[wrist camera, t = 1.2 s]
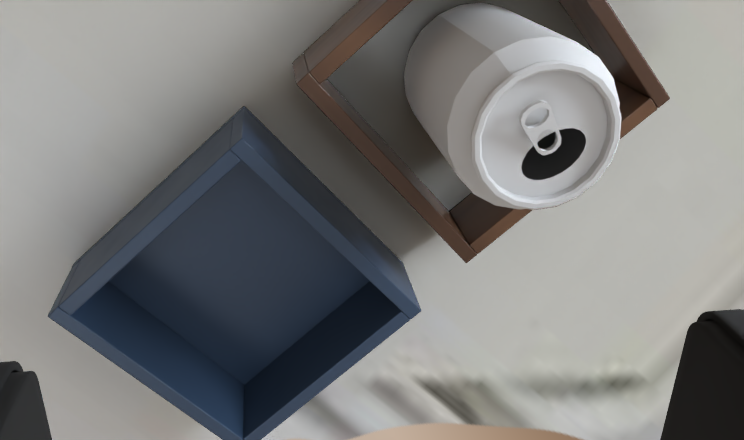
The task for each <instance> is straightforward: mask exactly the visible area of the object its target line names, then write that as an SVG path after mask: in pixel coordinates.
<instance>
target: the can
mask: <svg viewBox="0 0 744 440" xmlns="http://www.w3.org/2000/svg"><path fill="white" fill-rule="evenodd" d="M404 80H405V94H406V96H407V99H408V101H409V104H410V106H411V109H412V111H413V113H414V115H415V116H416V117H417V119H418V120H419V122H420V123H421V125H422V126H423V127H424V129H425V130H426V132H427V133H428V135H429V136H430V137H431V139H432V140H433V142H434V143H435V144H436V146H437V147H438V149H439V150H440V152H441V153H442V154H443V156H444V157H445V159H446V160H447V162H448V163H449V164H450V166H451V167H452V169H453V170H454V171H455V173H456V174H457V176H458V177H459V178H460V179H461V180H462V181H463V183H464V184H465V185H466V186H467V187H468V188H469V189H470V190H471V191H472V193H473V194H475V195H476V196H478V197H480V198H482V199H484V200H486V201H488V202H490V203H491V204H493V205H495V206H501V207H507V208H514V209H531V210H537V209H544V208H551V207H557V206H559V205H561V204H564V203H566V202H568V201H570V200H573V199H575V198H577V197H579V196H580V195H581V194H582V193H584V192H585V191H586V190H587V189H589V188H590V187H591V186H592V185H594V184H595V183H596V182H597V181H598V180H599V178H600V177H601V176H602V174H603V173H604V171H605V170H606V169H607V167H608V166H609V165H610V163H611V162H612V159H613V156H614V154H615V151H616V149H617V146H618V144H619V141H620V131H621V118H622V117H621V113H620V109H619V106H620V102H619V98H618V94H617V90H616V86H615V83H614V79H613V77H612V75H611V74H610V72H609V71H608V69H607V68H606V67H605V65H604V64H603V62H602V61H601V59H600V58H599V57H598V56H597V55H595V54H594V53H592V52H591V51H589V50H588V49H586V48H585V47H583V46H582V45H580V44H579V43H577V42H575V41H573V40H571V39H569V38H567V37H565V36H563V35H561V34H558V33H556V32H554V31H552V30H550V29H548V28H546V27H544V26H541V25H539V24H537V23H535V22H533V21H531V20H529V19H526V18H524V17H522V16H520V15H518V14H516V13H514V12H512V11H509V10H507V9H505V8H503V7H499V6H495V5H491V4H486V3H482V2H481V3H472V4H463V5H458V6H456V7H454V8H452V9H450V10H447V11H445V12H443V13H441V14H439V15H438V16H436V17H435V18H434V19H433V20H432V21H431V22H430V23H429V24H428V25H427V26H425V27H424V28H423V29H422V30H421V32H420V33H419V35H418V37H417V38H416V40H415V42H414V43H413V45H412V47H411V48H410V50H409V54H408V58H407V62H406V66H405V70H404Z"/></svg>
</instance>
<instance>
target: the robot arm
mask: <svg viewBox="0 0 744 440" xmlns="http://www.w3.org/2000/svg"><path fill="white" fill-rule="evenodd" d="M0 440H52V437H51V433H50V429H49V424H48V420H47V416H46V411H45V407H44V403H43V399H42V394H41V390H40V386H39V381H38V378H37V375H36V374H35V372H33V371H27V372H23V369H22V367H21V365H20V364H19V363H18V362H16V361H12V362H0ZM661 440H744V310H740V309H737V310H723V311H709V312H705V313H702V314H701V315H700V317H699V318H698V320H697V322H695V323H692V324H691V325H690V327H689V329H688V331H687V335H686V339H685V343H684V347H683V351H682V355H681V359H680V363H679V367H678V371H677V375H676V379H675V383H674V387H673V391H672V395H671V399H670V403H669V407H668V411H667V416H666V420H665V424H664V428H663V432H662V436H661Z"/></svg>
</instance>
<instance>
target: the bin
mask: <svg viewBox="0 0 744 440" xmlns="http://www.w3.org/2000/svg"><path fill="white" fill-rule="evenodd" d="M419 312H421V309H420V306H419V303H418V301H417V298H416V296H415V293H414V291H413V288H412V285H411V283H410V280H409V278H408V275H407V273H406V270H405V267H404V265H403V263H402V262H401V261H400V260H399V259H398V258H397V257H396V256H395V255H394V254H393V253H392V252H391V251H390V250H389V249H388V248H387V247H386V246H385V245H384V244H383V243H382V242H381V241H380V240H379V239H378V238H377V237H376V236H375V235H374V234H373V233H372V232H371V231H370V230H369V229H368V228H367V227H366V226H365V225H364V224H363V223H362V222H361V221H360V220H359V219H358V218H357V217H356V216H355V215H354V214H353V213H352V212H351V211H350V210H349V209H348V208H347V207H346V206H345V205H344V204H343V203H342V202H341V201H340V200H339V199H338V198H337V197H336V196H335V195H334V194H333V193H332V192H331V191H330V190H329V189H328V188H327V187H326V186H325V185H324V184H323V183H322V182H321V181H320V180H319V179H318V178H317V177H316V176H315V175H314V174H313V173H312V172H311V171H310V170H309V169H308V168H307V167H306V166H305V165H304V164H303V163H302V162H301V161H299V160H298V159H297V158H296V157H295V156H294V155H293V154H292V153H291V152H290V151H289V150H288V149H287V148H286V147H285V146H284V145H283V144H282V143H281V142H280V141H279V140H278V139H277V138H276V137H275V136H274V135H273V134H272V133H271V132H270V131H269V130H268V129H267V128H266V127H265V126H264V125H263V124H262V123H261V122H260V121H259V120H258V119H257V118H256V117H255V116H254V115H253V114H252V113H251V112H250V111H249V110H248V109H247V108H246V107H245V106H243V107H242V108H241V109H240V110H239V111H238V112H237V113H236V114H235V115H234V116H233V117H232V118H230V119H229V120H228V121H227V122H226V123H225V124H224V125H223V126H222V127H221V128H220V129H219V130H217V131H216V132H215V133H214V134H213V135H212V136H211V137H210V138H209V139H208V140H207V141H206V142H205V143H203V144H202V145H201V146H200V147H199V148H198V149H197V150H196V151H195V152H194V153H193V154H192V155H191V156H189V157H188V158H187V159H186V160H185V161H184V162H183V163H182V164H181V165H180V166H179V167H178V168H177V169H175V170H174V171H173V172H172V173H171V174H170V175H169V176H168V177H167V178H166V179H165V180H164V181H162V182H161V183H160V184H159V185H158V186H157V187H156V188H155V189H154V190H153V191H152V192H151V193H150V194H148V195H147V196H146V197H145V198H144V199H143V200H142V201H141V202H140V203H139V204H138V205H137V206H136V207H134V208H133V209H132V210H131V211H130V212H129V213H128V214H127V215H126V216H125V217H124V218H123V219H122V220H120V221H119V222H118V223H117V224H116V225H115V226H114V227H113V228H112V229H111V230H110V231H109V232H107V233H106V234H105V235H104V236H103V237H102V238H101V239H100V240H99V241H98V242H97V243H96V244H95V245H93V246H92V247H91V248H90V249H89V250H88V251H87V252H86V253H85V254H84V255H83V256H82V257H81V258H79V259H78V260H77V261H76V262H75V263H74V264H73V266H72V269H71V271H70V273H69V275H68V276H67V278H66V280H65V282H64V284H63V286H62V288H61V290H60V292H59V294H58V296H57V298H56V300H55V302H54V304H53V306H52V308H51V310H50V312H49V314H48V317H49V318H51V319H52V320H53V321H55V322H56V323H58V324H59V325H60V326H62V327H63V328H65V329H66V330H68V331H69V332H70V333H72V334H73V335H75V336H76V337H78V338H79V339H80V340H82V341H83V342H85V343H86V344H87V345H89V346H90V347H92V348H93V349H95V350H96V351H97V352H99V353H100V354H102V355H103V356H105V357H106V358H107V359H109V360H110V361H112V362H113V363H114V364H116V365H117V366H119V367H120V368H122V369H123V370H124V371H126V372H127V373H129V374H130V375H132V376H133V377H134V378H136V379H137V380H139V381H140V382H141V383H143V384H144V385H146V386H147V387H149V388H150V389H151V390H153V391H154V392H156V393H157V394H159V395H160V396H161V397H163V398H164V399H166V400H167V401H168V402H170V403H171V404H173V405H174V406H176V407H177V408H178V409H180V410H181V411H183V412H184V413H186V414H187V415H188V416H190V417H191V418H193V419H194V420H195V421H197V422H198V423H200V424H201V425H203V426H204V427H205V428H207V429H208V430H210V431H211V432H213V433H214V434H215V435H217V436H218V437H220V438H221V439H222V440H261V439H262V438H263V437H265V436H266V435H267V434H268V433H270V432H271V431H272V430H273V429H275V428H276V427H277V426H278V425H280V424H281V423H282V422H283V421H285V420H286V419H287V418H288V417H290V416H291V415H292V414H293V413H295V412H296V411H297V410H298V409H300V408H301V407H302V406H303V405H305V404H306V403H307V402H308V401H309V400H311V399H312V398H313V397H314V396H316V395H317V394H318V393H319V392H321V391H322V390H323V389H324V388H326V387H327V386H328V385H329V384H331V383H332V382H333V381H334V380H336V379H337V378H338V377H339V376H341V375H342V374H343V373H344V372H346V371H347V370H348V369H349V368H351V367H352V366H353V365H354V364H356V363H357V362H358V361H359V360H361V359H362V358H363V357H364V356H366V355H367V354H368V353H369V352H371V351H372V350H373V349H374V348H375V347H377V346H378V345H379V344H380V343H382V342H383V341H384V340H385V339H387V338H388V337H389V336H390V335H392V334H393V333H394V332H395V331H397V330H398V329H399V328H400V327H402V326H403V325H404V324H405V323H407V322H408V321H409V320H410V319H412V318H413V317H414V316H416V315H417V314H418V313H419Z"/></svg>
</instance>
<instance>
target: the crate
mask: <svg viewBox="0 0 744 440" xmlns="http://www.w3.org/2000/svg"><path fill="white" fill-rule="evenodd" d="M411 1H412V0H360V1H359V2H358V3H357V4H355V5H354V6H353V7H352V8H351V9H350V10H349V11H348V12H347V13H346V14H345V15H344V16H343V17H341V18H340V19H339V20H338V21H337V22H336V23H335V24H334V25H333V26H332V27H331V28H330V29H328V30H327V31H326V32H325V33H324V34H323V35H322V36H321V37H320V38H319V39H318V40H317V41H316V42H314V43H313V44H312V45H311V46H310V47H309V48H308V49H307V50H306V51H305V52H304V54H301V55H300V56H299V57H298V58H297V59H296V60H295V61H294V62H293V63H292V64H293V69H294V74H295V79H296V84H297V86H298V87H299V88H300V89H301V90H302V91H303V92H304V93H305V94H306V95H307V96H308V97H309V98H310V99H311V100H312V101H313V102H314V103H315V104H316V106H317V107H318V108H319V109H320V110H321V111H322V112H323V113H324V114H325V115H326V116H327V117H328V118H329V119H330V120H331V121H332V122H333V123H334V124H335V126H336V127H337V128H338V129H339V130H340V131H341V132H342V133H343V134H344V135H345V136H346V137H347V138H348V139H349V140H350V141H351V142H352V143H353V145H354V146H355V147H356V148H357V149H358V150H359V151H360V152H361V153H362V154H363V155H364V156H365V157H366V158H367V159H368V160H369V161H370V162H371V163H372V165H373V166H374V167H375V168H376V169H377V170H378V171H379V172H380V173H381V174H382V175H383V176H384V177H385V178H386V179H387V180H388V181H389V182H390V183H391V185H392V186H393V187H394V188H395V189H396V190H397V191H398V192H399V193H400V194H401V195H402V196H403V197H404V198H405V199H406V200H407V201H408V202H409V204H410V205H411V206H412V207H413V208H414V209H415V210H416V211H417V212H418V213H419V214H420V215H421V216H422V217H423V218H424V219H425V220H426V221H427V222H428V224H429V225H430V226H431V227H432V228H433V229H434V230H435V231H436V232H437V233H438V234H439V235H440V236H441V237H442V238H443V239H444V240H445V241H446V242H447V244H448V245H449V246H450V247H451V248H452V249H453V250H454V251H455V252H456V253H457V254H458V255H459V256H460V257H461V258H462V259H463V260H464V261H465V263H467V262H468V261H470V260H471V259H472V258H473V257H475V256H476V255H477V254H478V253H480V252H481V251H482V250H483V249H485V248H486V247H487V246H488V245H489V244H491V243H492V242H493V241H494V240H496V239H497V238H498V237H499V236H501V235H502V234H503V233H504V232H506V231H507V230H508V229H509V228H511V227H512V226H513V225H514V224H515V223H517V222H518V221H519V220H520V219H522V218H523V217H524V216H525V215H527V214H528V213H529V212H530V211H532V210H531V209H514V208H507V207H501V206H495V205H493V204H491V203H490V202H488V201H486V200H484V199H482V198H480V197H478V196H476V195H475V194H473V193H471V194H470V195H469V196H467V197H466V198H465V199H464V200H463V201H461V202H460V203H459V204H458V205H457V206H455V207H454V208H453V209H452V210H451V211H450V212H449V211H448V210H447V209H446V208H445V207H444V206H443V205H442V203H441V202H440V201H439V200H438V199H437V198H436V197H435V196H434V195H433V194H432V193H431V192H430V190H429V189H428V188H427V187H426V186H425V185H424V184H423V183H422V182H421V181H420V180H419V178H418V177H417V176H416V175H415V174H414V173H413V172H412V171H411V170H410V169H409V168H408V167H407V165H406V164H405V163H404V162H403V161H402V160H401V159H400V158H399V157H398V156H397V155H396V153H395V152H394V151H393V150H392V149H391V148H390V147H389V146H388V145H387V144H386V143H385V142H384V140H383V139H382V138H381V137H380V136H379V135H378V134H377V133H376V132H375V131H374V130H373V128H372V127H371V126H370V125H369V124H368V123H367V122H366V121H365V120H364V119H363V118H362V117H361V115H360V114H359V113H358V112H357V111H356V110H355V109H354V108H353V107H352V106H351V105H350V103H349V102H348V101H347V100H346V99H345V98H344V97H343V96H342V95H341V94H340V93H339V92H338V90H337V89H336V88H335V87H334V86H333V85H332V84H331V83H330V82H329V81H328V80H327V78H328V77H329V76H330V75H331V74H332V73H333V72H334V71H335V70H337V69H338V68H339V67H340V66H341V65H342V64H343V63H344V62H345V61H346V60H348V59H349V58H350V57H351V56H352V55H353V54H354V53H355V52H356V51H357V50H358V49H360V48H361V47H362V46H363V45H364V44H365V43H366V42H367V41H368V40H369V39H371V38H372V37H373V36H374V35H375V34H376V33H377V32H378V31H379V30H380V29H382V28H383V27H384V26H385V25H386V24H387V23H388V22H389V21H390V20H391V19H393V18H394V17H395V16H396V15H397V14H398V13H399V12H400V11H401V10H402V9H404V8H405V7H406V6H407V5H408V4H409V3H410V2H411ZM559 2H560V3H561V4H562V6H563V7H564V9H565V10H566V12H567V13H568V15H569V16H570V18H571V19H572V20H573V22H574V23H575V25H576V26H577V28H578V29H579V31H580V32H581V33H582V35H583V36H584V38H585V39H586V41H587V42H588V44H589V45H590V47H591V48H592V49H593V51H594V52H595V54H596V55H597V56H598V57H599V58H600V59H601V61H602V62H603V64H604V65H605V67H606V68H607V69H608V71H609V72H610V74H611V75H612V77H613V79H614V83H615V86H616V90H617V94H618V98H619V102H620V106H619V109H620V113H621V117H622V118H621V131H620V139H621V138H622V137H623V136H625V135H626V134H627V133H628V132H630V131H631V130H632V129H633V128H634V127H636V126H637V125H638V124H639V123H641V122H642V121H643V120H644V119H646V118H647V117H648V116H649V115H651V114H652V113H653V112H654V111H656V110H657V108H659V107H660V106H661V105H663V104H664V103H665V102H666V101H668V100H669V99H670V97H669V96H668V94H667V92H666V91H665V89H664V88H663V86H662V85H661V83H660V82H659V80H658V79H657V77H656V76H655V74H654V73H653V71H652V69H651V68H650V66H649V65H648V63H647V62H646V60H645V59H644V57H643V56H642V54H641V53H640V51H639V49H638V48H637V46H636V45H635V43H634V42H633V40H632V39H631V37H630V36H629V34H628V33H627V31H626V30H625V28H624V26H623V25H622V23H621V22H620V20H619V19H618V17H617V16H616V14H615V13H614V11H613V10H612V8H611V6H610V5H609V3H608V2H607V0H559Z"/></svg>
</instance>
